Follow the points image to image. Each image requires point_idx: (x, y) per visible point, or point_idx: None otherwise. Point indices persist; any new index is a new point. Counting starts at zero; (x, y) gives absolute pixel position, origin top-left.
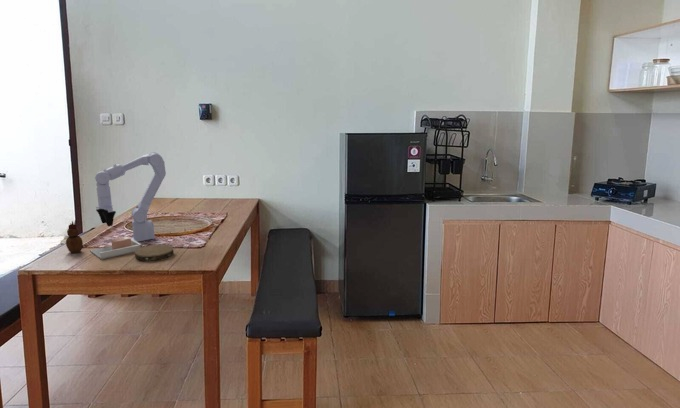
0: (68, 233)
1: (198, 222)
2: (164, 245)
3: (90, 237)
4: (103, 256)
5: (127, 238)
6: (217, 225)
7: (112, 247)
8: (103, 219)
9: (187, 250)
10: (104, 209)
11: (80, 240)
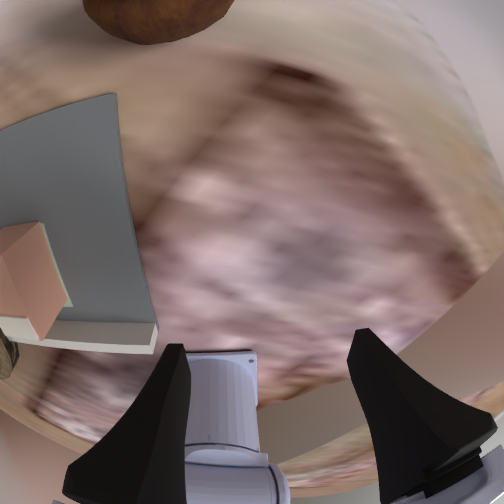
0: None
1: (298, 470)
2: (3, 374)
3: (463, 199)
4: None
5: (4, 327)
6: None
7: (25, 230)
8: (369, 371)
9: (12, 388)
10: (402, 485)
11: (97, 22)
